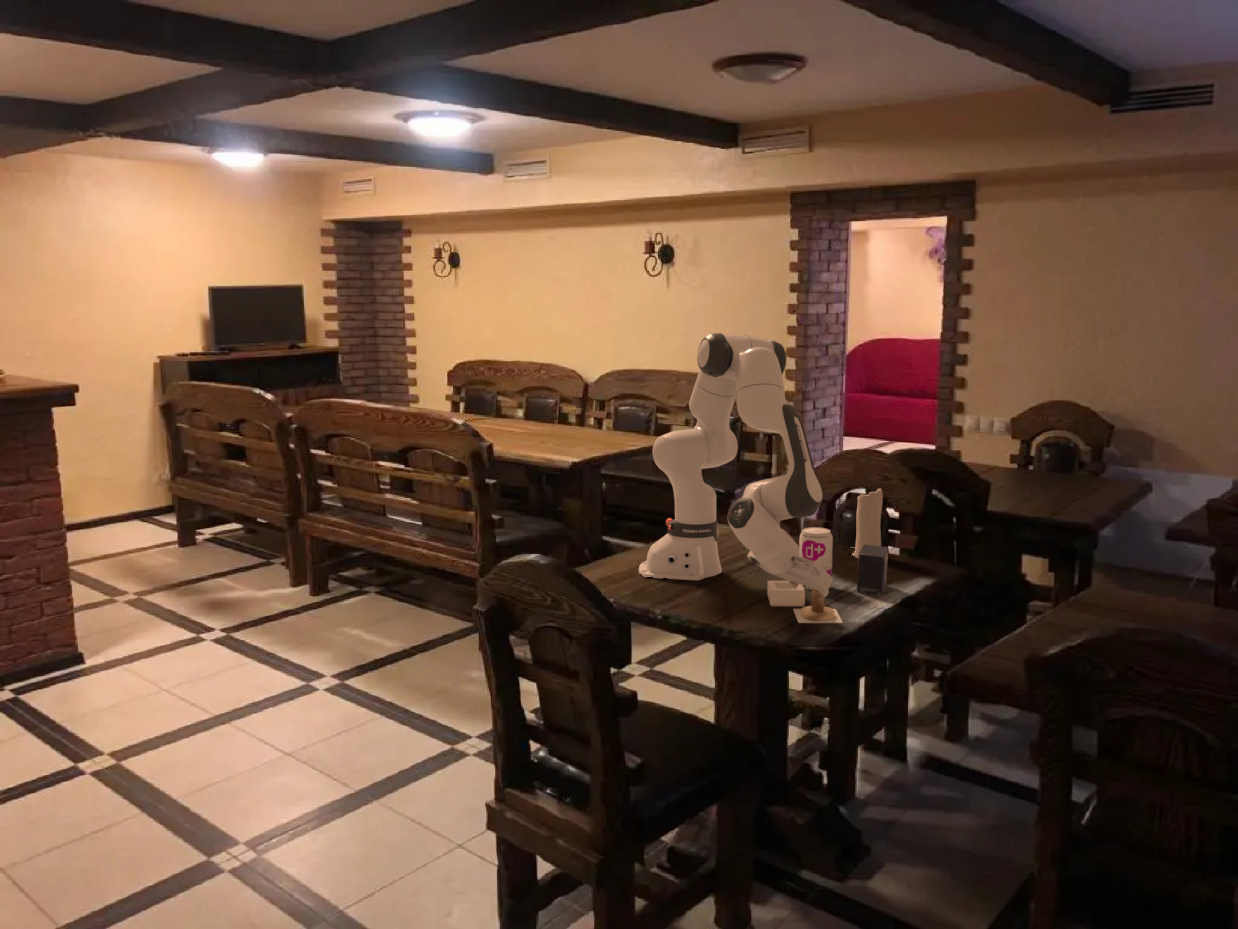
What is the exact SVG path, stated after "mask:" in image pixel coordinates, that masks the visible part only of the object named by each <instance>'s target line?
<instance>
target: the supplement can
mask: <svg viewBox="0 0 1238 929" xmlns="http://www.w3.org/2000/svg"><path fill="white" fill-rule="evenodd" d="M833 536H834V535H832V533H831V529H828V528H826V527H825V528H824V527H817V526H814V527H812V526H811V527H805V528H803V529H802V530H801V533H800V535H799V541H798V542H799V545H798V546H799V549H800V554H799V557H803V558H806V559H809V560H812V561H814V562H816V563H817V564H818V565H820V566H821V567H822V568H823V569H824V570H825V571H826V572H827V573H828V574H829V575H830V576H831V577H832V578H833V551H834V550H833V548H834V546H833V545H834V544H833V542H834V541H833V540H834V538H833ZM803 587H804V589H806V590H805V591H812V588H810V587H807V586H804V585H803ZM830 588H832V584H831V586H830V587H829V589H830Z"/></svg>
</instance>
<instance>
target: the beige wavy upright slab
mask: <svg viewBox="0 0 1238 929" xmlns="http://www.w3.org/2000/svg"><path fill="white" fill-rule="evenodd" d="M883 495H884V494H883V489H882V488H881V487H880V488H877V489H876V491H870V492H868V494H863V493H861V494H860V495H858V496H857V508H856V517H855V518H856V520H855V521H856V522H855V523H856V533H855V534H856V535H855V537H856V538H855V547H851V548H855V551H854V553H852V555H853V556H852V555H851V556H852V557H854V556H855V557H854V558H856V559H859V553H860V551H861V549H862V547H863V546H864V545H872V546H881V547H882V536H881V533H882V532H881V521H882V520H881V519H882V518H881V516H882V509H883V500H884V497H883Z"/></svg>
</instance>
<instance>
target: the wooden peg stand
mask: <svg viewBox="0 0 1238 929" xmlns="http://www.w3.org/2000/svg"><path fill="white" fill-rule="evenodd" d="M817 591H818V590H816V589H813V588H812V590H811V605H807V606H802V608H800V609H801V616H802V617H803V618H805V619H808V620H812V621H827V620H831V619H833V618H834V610H833V609H834V608H831V607H829V606H825V597H824V596H821V595H820V594H819V593H818V592H817Z"/></svg>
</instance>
